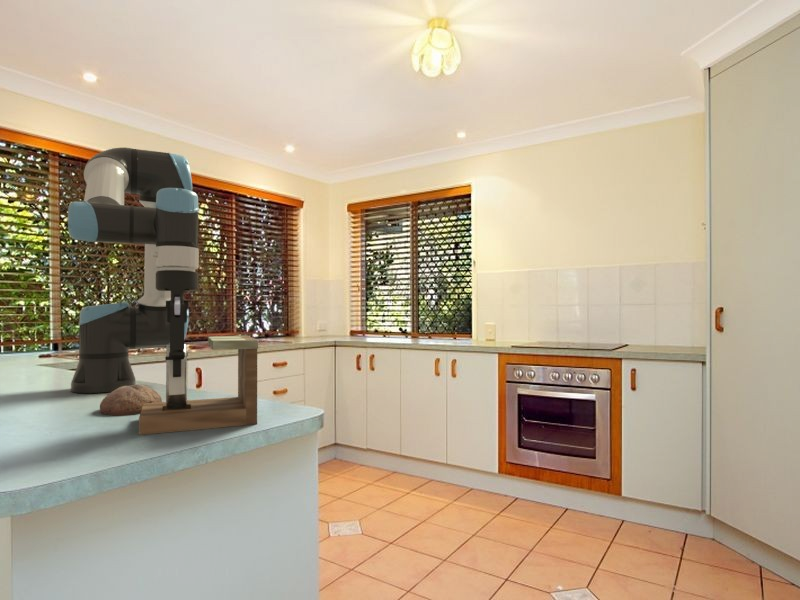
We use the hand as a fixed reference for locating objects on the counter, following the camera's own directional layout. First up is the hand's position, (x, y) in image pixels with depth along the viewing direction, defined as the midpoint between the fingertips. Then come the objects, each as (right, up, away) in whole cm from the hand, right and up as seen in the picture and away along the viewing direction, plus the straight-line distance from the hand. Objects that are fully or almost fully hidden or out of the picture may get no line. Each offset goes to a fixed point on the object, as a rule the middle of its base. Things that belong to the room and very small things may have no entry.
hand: (176, 392), depth 97 cm
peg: (0, -3, 0) cm, 3 cm away
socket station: (+4, -6, +2) cm, 7 cm away
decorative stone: (-16, -7, +13) cm, 21 cm away
